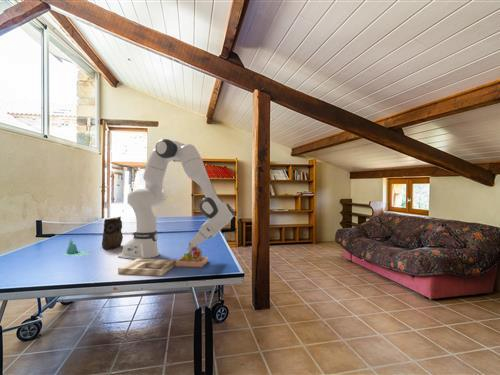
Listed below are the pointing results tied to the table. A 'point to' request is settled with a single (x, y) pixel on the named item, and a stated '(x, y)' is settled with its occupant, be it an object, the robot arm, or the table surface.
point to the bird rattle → (196, 254)
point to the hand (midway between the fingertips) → (191, 247)
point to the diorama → (75, 250)
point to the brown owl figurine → (112, 233)
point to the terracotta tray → (191, 262)
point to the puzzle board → (140, 264)
